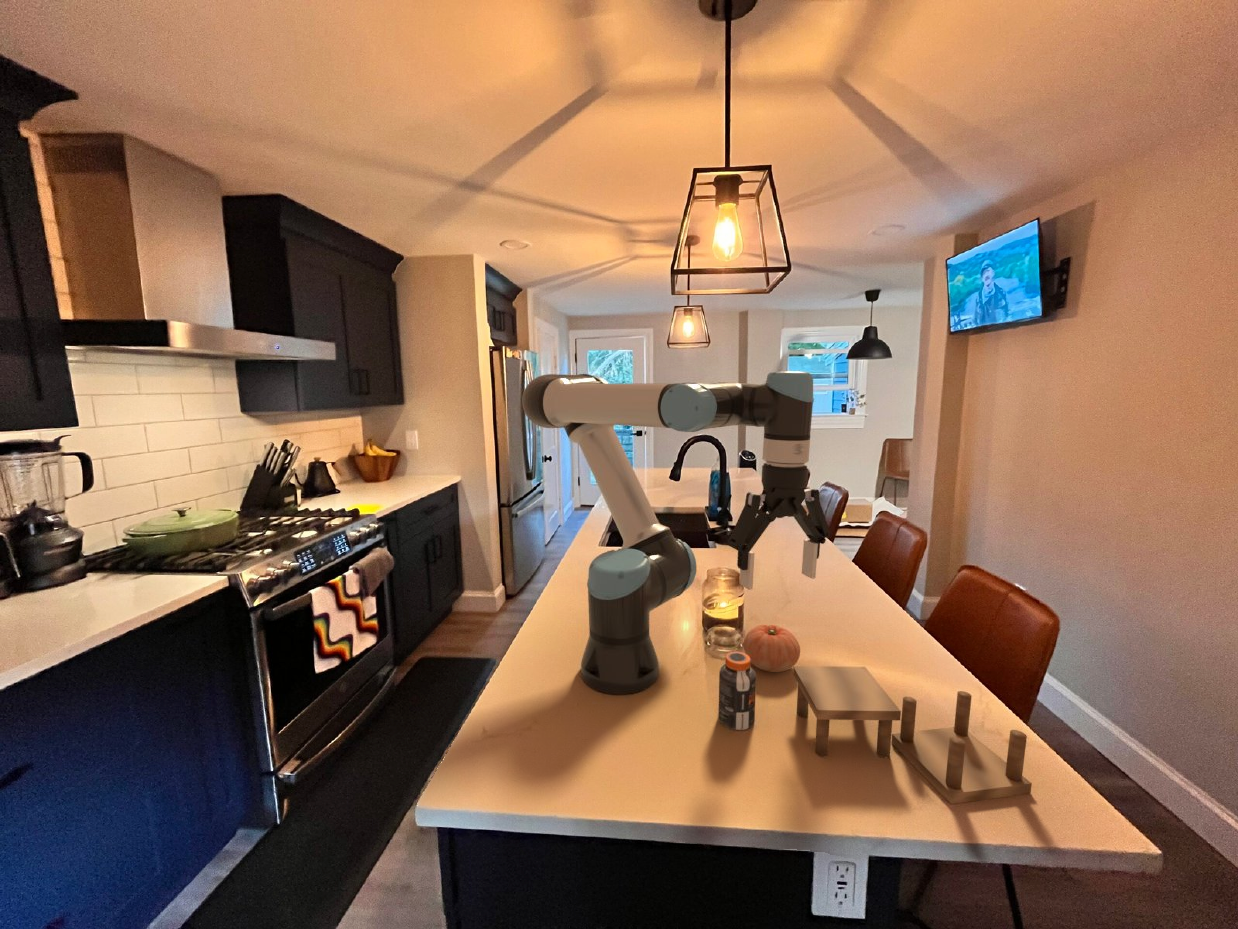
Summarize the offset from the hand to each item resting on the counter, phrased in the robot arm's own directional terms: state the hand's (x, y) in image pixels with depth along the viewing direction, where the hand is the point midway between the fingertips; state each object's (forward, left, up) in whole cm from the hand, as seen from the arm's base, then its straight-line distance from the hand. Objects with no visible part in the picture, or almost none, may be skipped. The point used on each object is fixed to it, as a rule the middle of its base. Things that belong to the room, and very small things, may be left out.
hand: (778, 581), depth 91 cm
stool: (+7, -12, -21) cm, 25 cm away
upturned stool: (+21, -19, -21) cm, 35 cm away
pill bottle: (-9, -9, -21) cm, 24 cm away
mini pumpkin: (+1, +8, -21) cm, 23 cm away
